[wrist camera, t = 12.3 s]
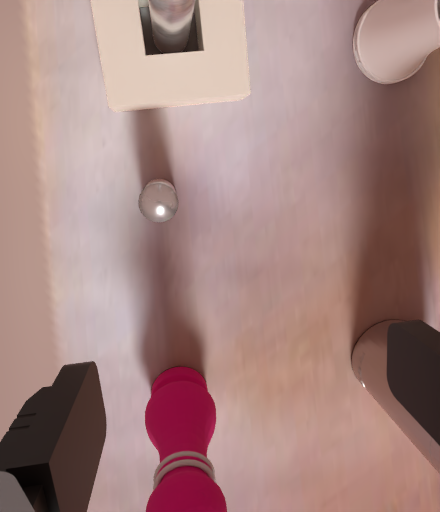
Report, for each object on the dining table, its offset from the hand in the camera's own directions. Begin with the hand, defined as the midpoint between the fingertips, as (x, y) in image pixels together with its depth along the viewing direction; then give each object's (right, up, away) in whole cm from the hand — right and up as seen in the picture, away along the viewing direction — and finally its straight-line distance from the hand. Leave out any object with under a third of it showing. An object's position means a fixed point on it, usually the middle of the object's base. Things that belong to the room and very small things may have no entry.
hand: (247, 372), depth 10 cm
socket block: (-5, +23, +24) cm, 34 cm away
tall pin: (-5, +23, +24) cm, 34 cm away
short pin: (-7, +9, +28) cm, 30 cm away
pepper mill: (-5, -12, +33) cm, 36 cm away
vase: (+16, +24, +27) cm, 40 cm away
